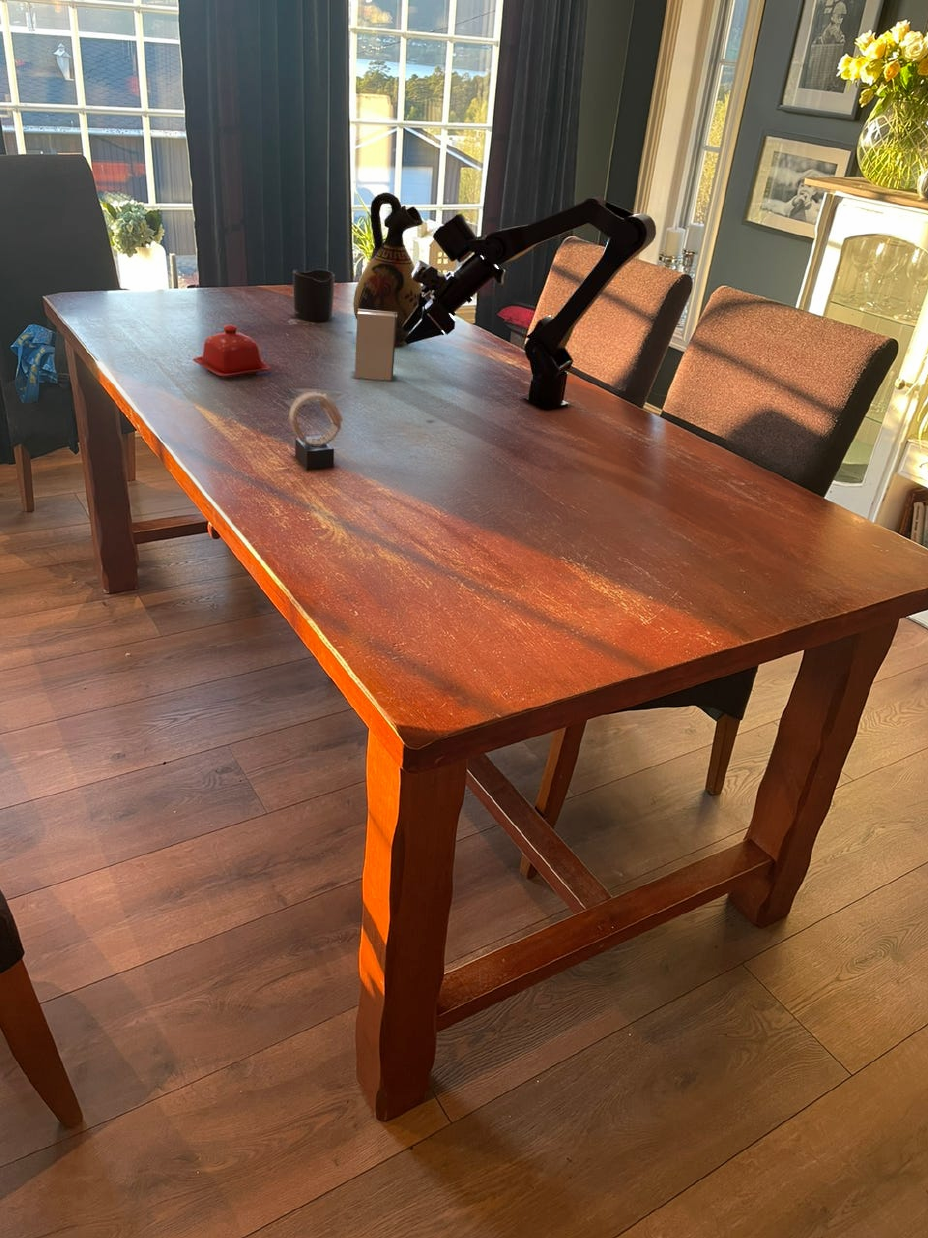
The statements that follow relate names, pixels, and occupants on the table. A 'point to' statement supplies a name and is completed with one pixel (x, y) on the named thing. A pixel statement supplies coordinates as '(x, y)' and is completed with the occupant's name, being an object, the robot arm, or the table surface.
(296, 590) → the table surface
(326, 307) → the pen holder
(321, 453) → the ring sculpture
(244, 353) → the butter dish
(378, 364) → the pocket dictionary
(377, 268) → the ceramic jug
